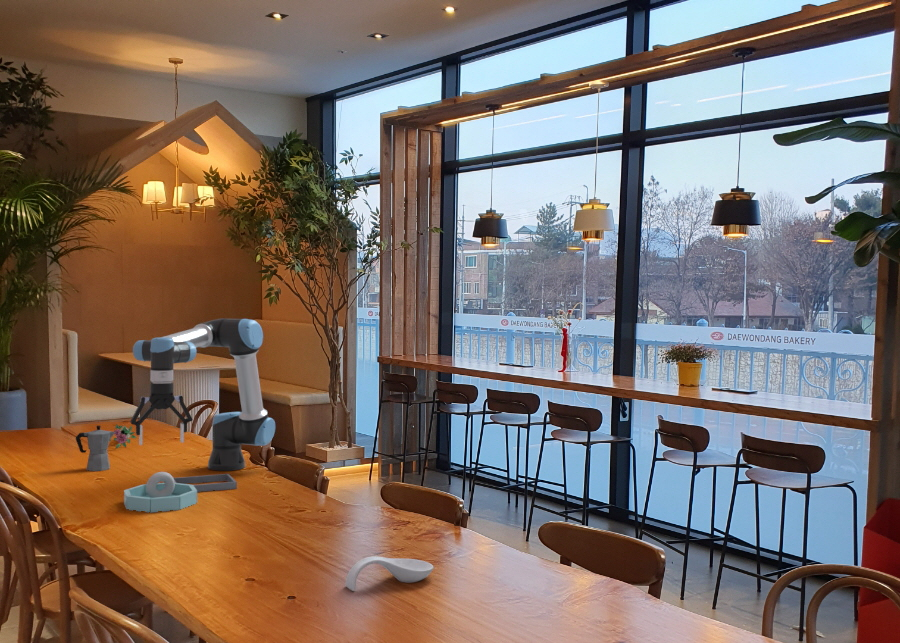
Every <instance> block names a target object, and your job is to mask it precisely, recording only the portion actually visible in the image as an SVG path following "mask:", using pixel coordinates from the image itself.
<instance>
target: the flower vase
mask: <svg viewBox="0 0 900 643" xmlns="http://www.w3.org/2000/svg"><path fill="white" fill-rule="evenodd" d="M114 429H115V430H114V431H113V432H115V434H114V435H113V436H112V437H111V439H110V441H109V442H112V441H111V440H112V438H113V440H114V441H116V442H118V443H117V444H116V446H115V449H116V448H117V449H119V448H120V447H121V445H122V446H123V447H124V448H127V443H128V444H130V443H131V439H137V436H136V435H134V433H135V434H136V431H132V429H133V426H132V425H130V426H129V428H128V427H127V426H126V425H118V424H117V423H116V424H115V428H114ZM130 438H131V439H130ZM126 442H127V443H126Z"/></svg>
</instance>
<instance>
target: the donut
mask: <svg viewBox="0 0 900 643" xmlns="http://www.w3.org/2000/svg"><path fill="white" fill-rule="evenodd" d="M173 478H174V476H172V475H171V473H168V472H166V471H159V472H155V473H153V474H151V476H150V477H149V478H148V480H147V482H146V483H145V484H146V492H147V494H148V496H149V497H150V498H157V497H169V496H170V495H171V494H172V493H173V490H174V487H175V481H174V479H173ZM158 483H165V487H164V489H163V490H161V491H158V490H157V489H156V485H157V484H158Z"/></svg>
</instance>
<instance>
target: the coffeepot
mask: <svg viewBox="0 0 900 643" xmlns="http://www.w3.org/2000/svg"><path fill="white" fill-rule="evenodd" d="M114 435H116V434H115V432H114V431H111V430H104V429H101V425H96V430H92V431H87V432H79V433H78V434H77V435H76V437H75V440H76V441H75V442H76V443H77V446H78V450H79V452H80V453H82V454H83V453H87V449H84V448H83V444H82V439H81V438H86V439H87V440H86V441H87V446H88V450H89V454H88V459H87V465H86V471H88V470H89V472H102V471H103V470H104V471H107V470H110V467H111V464H110V459H109V453H108V448H109V444H110V442H111V441H110V439H111V440H112V438H113V437H114ZM112 436H113V437H112Z"/></svg>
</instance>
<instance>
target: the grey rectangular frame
mask: <svg viewBox="0 0 900 643" xmlns="http://www.w3.org/2000/svg"><path fill="white" fill-rule="evenodd" d="M173 479H174V481H175V483H181V484H188V483H191V484H192V485H193V486H194V487H195V488H196V490H197V493H200V492H201V491H203V492H212V491H213V490H215V491H224V490H226V491H227V490H237V489H238V487H237V486H238V482H237V481H236V479H235V478H233V477H232V476H231V475H230V473H223V474H222V473H220V474H207V475H195V476H183V477H182V476H181V477H173ZM203 482H204V483H203ZM213 492H214V491H213ZM201 493H202V492H201Z"/></svg>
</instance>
